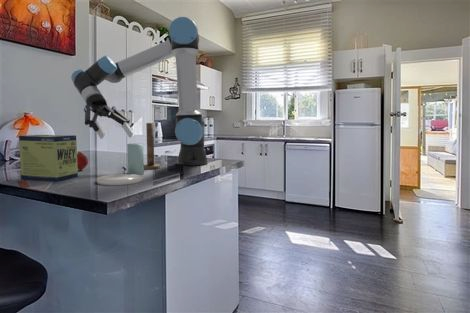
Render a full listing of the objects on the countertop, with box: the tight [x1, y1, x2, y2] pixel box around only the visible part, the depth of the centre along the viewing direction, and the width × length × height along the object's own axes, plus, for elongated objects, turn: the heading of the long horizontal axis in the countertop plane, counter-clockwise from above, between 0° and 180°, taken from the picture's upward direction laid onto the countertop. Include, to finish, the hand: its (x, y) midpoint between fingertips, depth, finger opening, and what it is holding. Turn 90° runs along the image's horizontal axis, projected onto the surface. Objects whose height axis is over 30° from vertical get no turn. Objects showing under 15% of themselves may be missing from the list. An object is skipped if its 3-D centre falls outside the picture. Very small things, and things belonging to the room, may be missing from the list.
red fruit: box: [77, 150, 89, 171], centre depth 133 cm, size 6×6×8 cm
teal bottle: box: [126, 143, 145, 176], centre depth 124 cm, size 6×6×12 cm
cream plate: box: [96, 173, 144, 186], centre depth 110 cm, size 15×15×1 cm
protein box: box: [18, 134, 79, 183], centre depth 114 cm, size 10×16×16 cm
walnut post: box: [144, 122, 161, 170], centre depth 140 cm, size 8×8×20 cm
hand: (117, 135), depth 129 cm, fingers open, 13 cm apart
